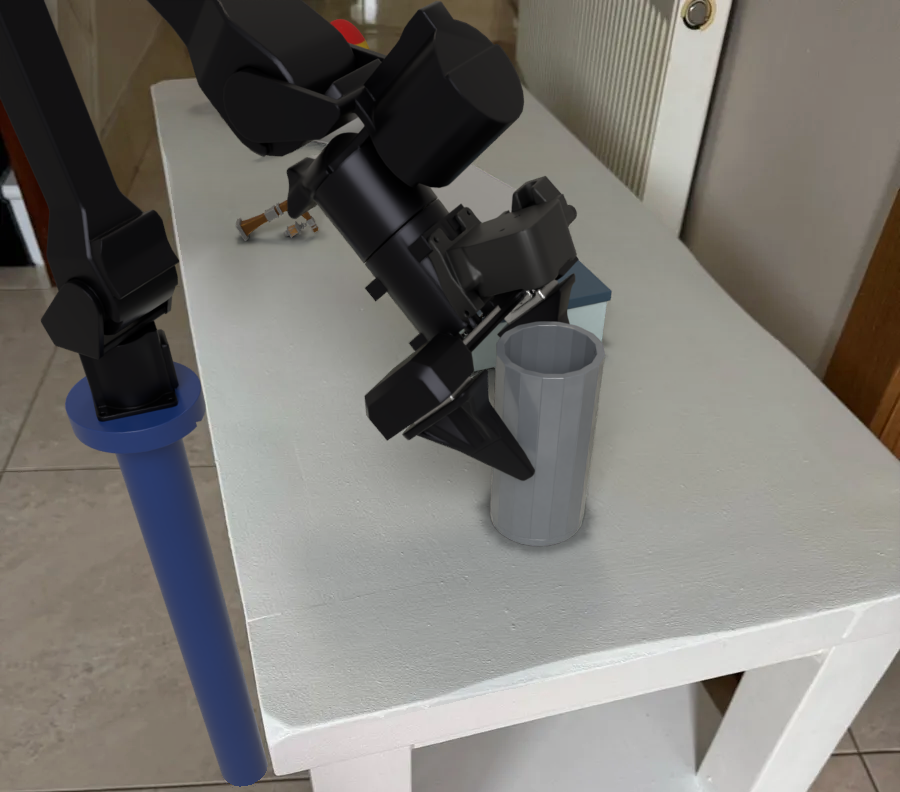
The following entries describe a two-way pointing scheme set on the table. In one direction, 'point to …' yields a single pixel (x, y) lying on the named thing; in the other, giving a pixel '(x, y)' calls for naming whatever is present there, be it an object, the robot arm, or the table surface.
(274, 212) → the wooden post with brackets
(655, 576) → the table surface
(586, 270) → the container
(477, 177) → the grey flat slab
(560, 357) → the cup
